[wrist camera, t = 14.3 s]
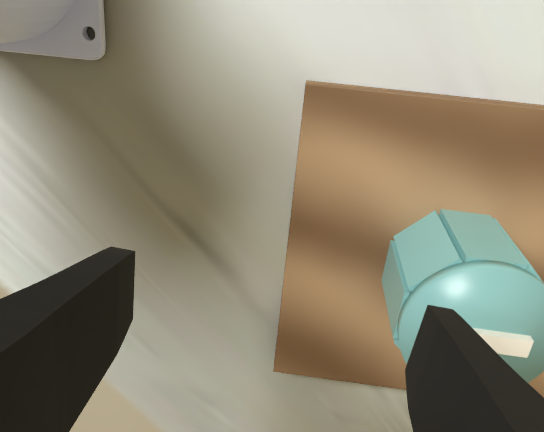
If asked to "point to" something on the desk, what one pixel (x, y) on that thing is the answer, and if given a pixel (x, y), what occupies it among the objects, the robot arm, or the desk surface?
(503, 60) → the desk surface
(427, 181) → the post fixture
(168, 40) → the desk surface
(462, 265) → the cap
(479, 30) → the desk surface
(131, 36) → the desk surface
